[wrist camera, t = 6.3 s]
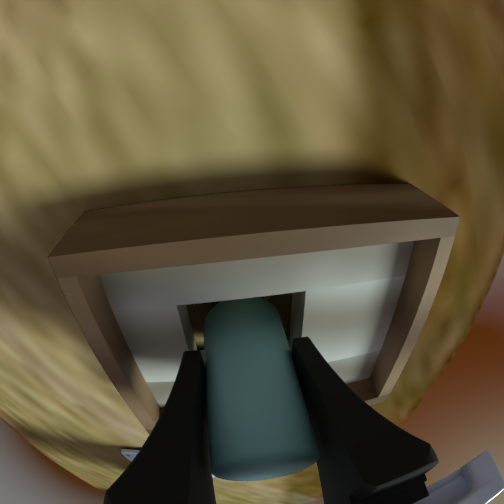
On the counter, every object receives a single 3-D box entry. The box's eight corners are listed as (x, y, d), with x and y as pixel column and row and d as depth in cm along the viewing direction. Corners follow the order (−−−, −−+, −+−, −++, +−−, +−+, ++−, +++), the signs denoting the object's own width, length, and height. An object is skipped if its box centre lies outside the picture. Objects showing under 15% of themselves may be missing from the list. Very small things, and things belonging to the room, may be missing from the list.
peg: (285, 294, 13) (333, 441, 7) (275, 347, 15) (306, 473, 9) (202, 296, 13) (207, 456, 7) (205, 350, 14) (213, 483, 8)
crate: (366, 359, 18) (385, 400, 15) (153, 387, 17) (150, 435, 14) (410, 183, 12) (460, 216, 9) (84, 211, 11) (48, 257, 8)
